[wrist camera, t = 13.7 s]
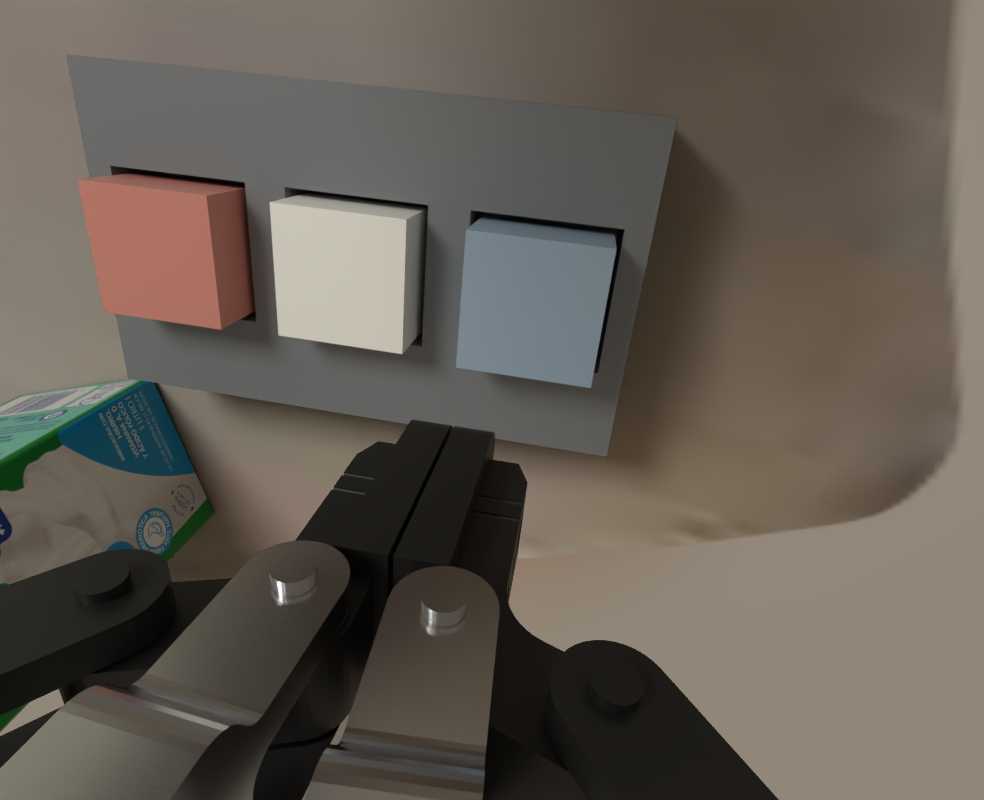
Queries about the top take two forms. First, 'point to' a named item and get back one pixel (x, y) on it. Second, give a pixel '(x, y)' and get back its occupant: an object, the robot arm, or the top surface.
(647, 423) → the top surface
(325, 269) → the white key
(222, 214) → the red key
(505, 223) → the blue key
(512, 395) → the key panel
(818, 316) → the top surface
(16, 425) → the milk carton
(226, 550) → the top surface
